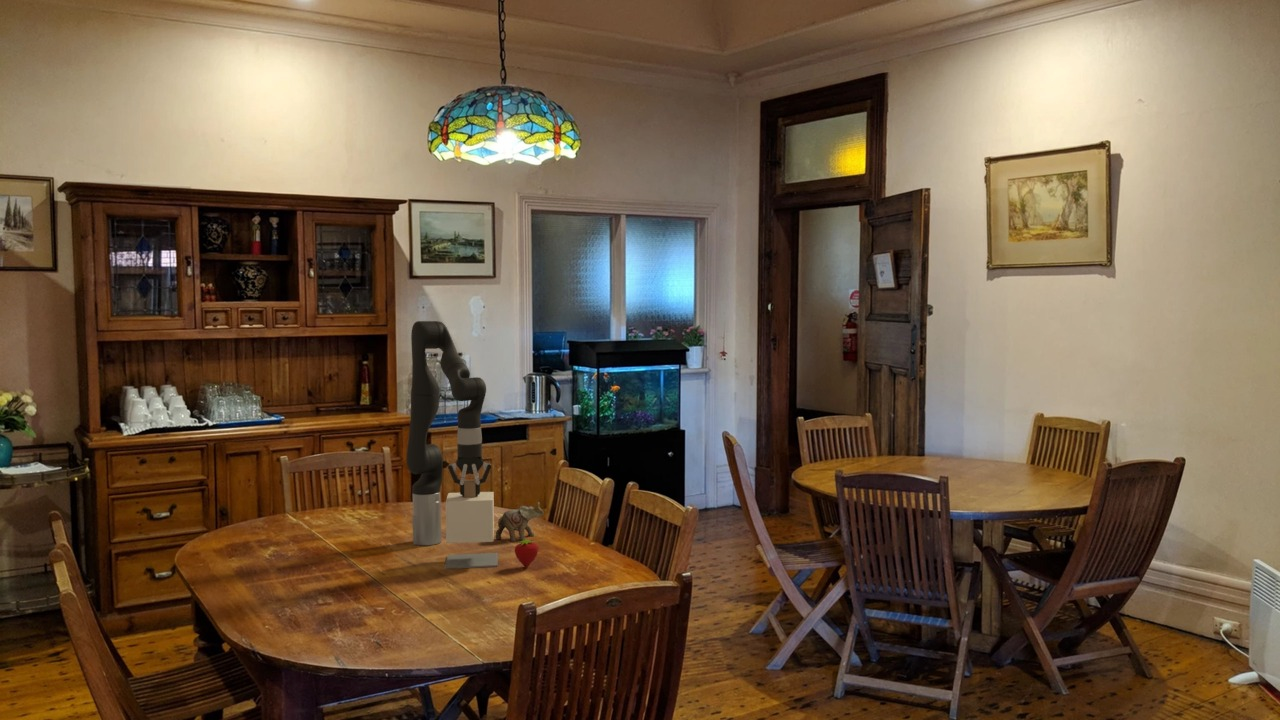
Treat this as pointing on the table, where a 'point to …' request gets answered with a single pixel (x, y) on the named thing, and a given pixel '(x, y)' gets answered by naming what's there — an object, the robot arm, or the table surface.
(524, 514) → the figurine
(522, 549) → the strawberry
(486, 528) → the cover
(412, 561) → the table surface
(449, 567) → the mat
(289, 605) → the table surface
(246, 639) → the table surface
